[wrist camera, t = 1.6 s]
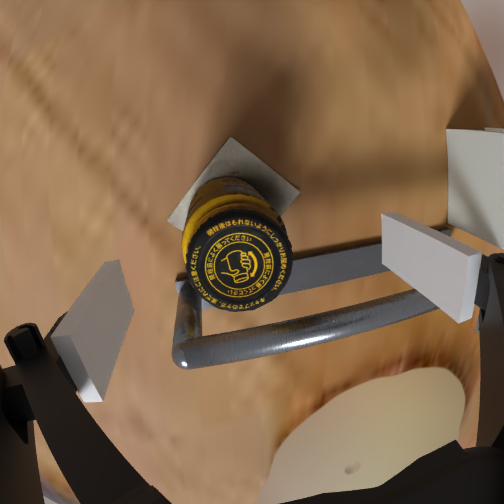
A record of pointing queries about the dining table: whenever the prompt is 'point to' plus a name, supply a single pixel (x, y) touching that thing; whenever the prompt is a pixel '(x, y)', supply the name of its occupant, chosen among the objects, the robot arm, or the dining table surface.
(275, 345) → the handrail
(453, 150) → the cabinet
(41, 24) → the dining table surface
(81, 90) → the dining table surface
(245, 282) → the condiment
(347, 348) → the dining table surface
